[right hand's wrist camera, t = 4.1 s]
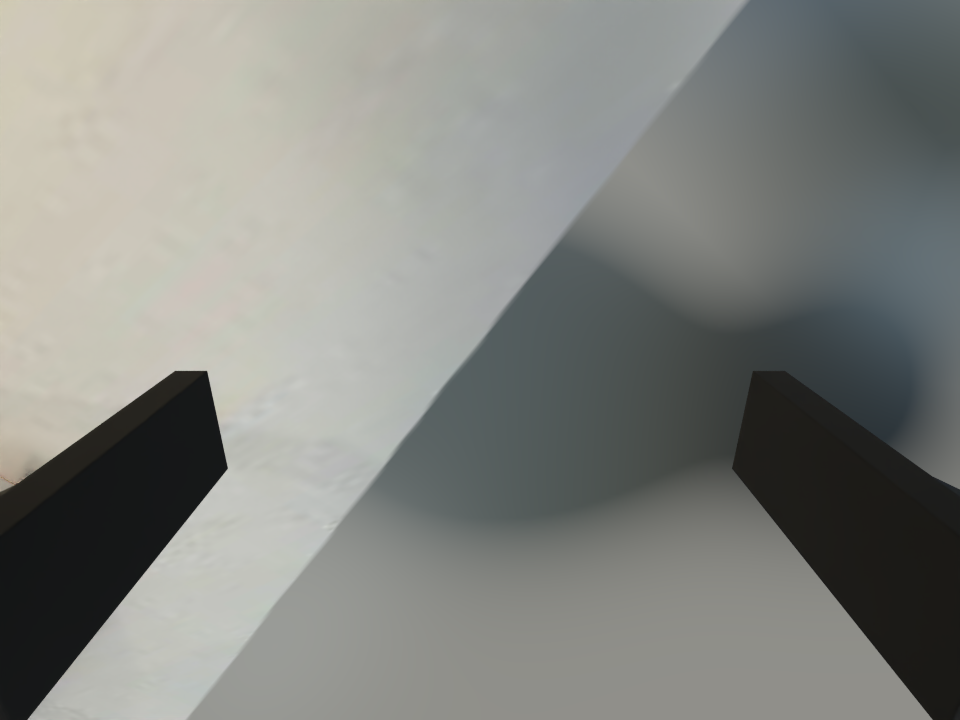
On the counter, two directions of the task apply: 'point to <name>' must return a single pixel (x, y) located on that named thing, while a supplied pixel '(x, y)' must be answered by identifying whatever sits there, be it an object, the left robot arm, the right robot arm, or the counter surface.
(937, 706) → the right robot arm
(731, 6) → the counter surface
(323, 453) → the counter surface
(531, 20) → the counter surface
